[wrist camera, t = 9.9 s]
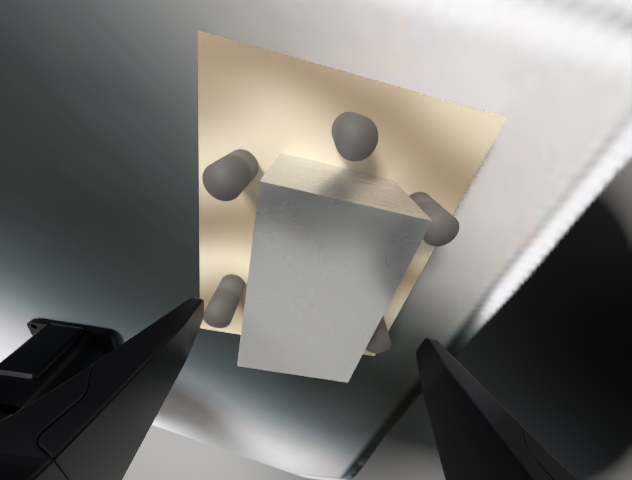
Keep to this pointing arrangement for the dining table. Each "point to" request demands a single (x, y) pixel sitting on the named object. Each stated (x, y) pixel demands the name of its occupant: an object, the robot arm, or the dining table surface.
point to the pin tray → (318, 156)
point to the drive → (323, 266)
